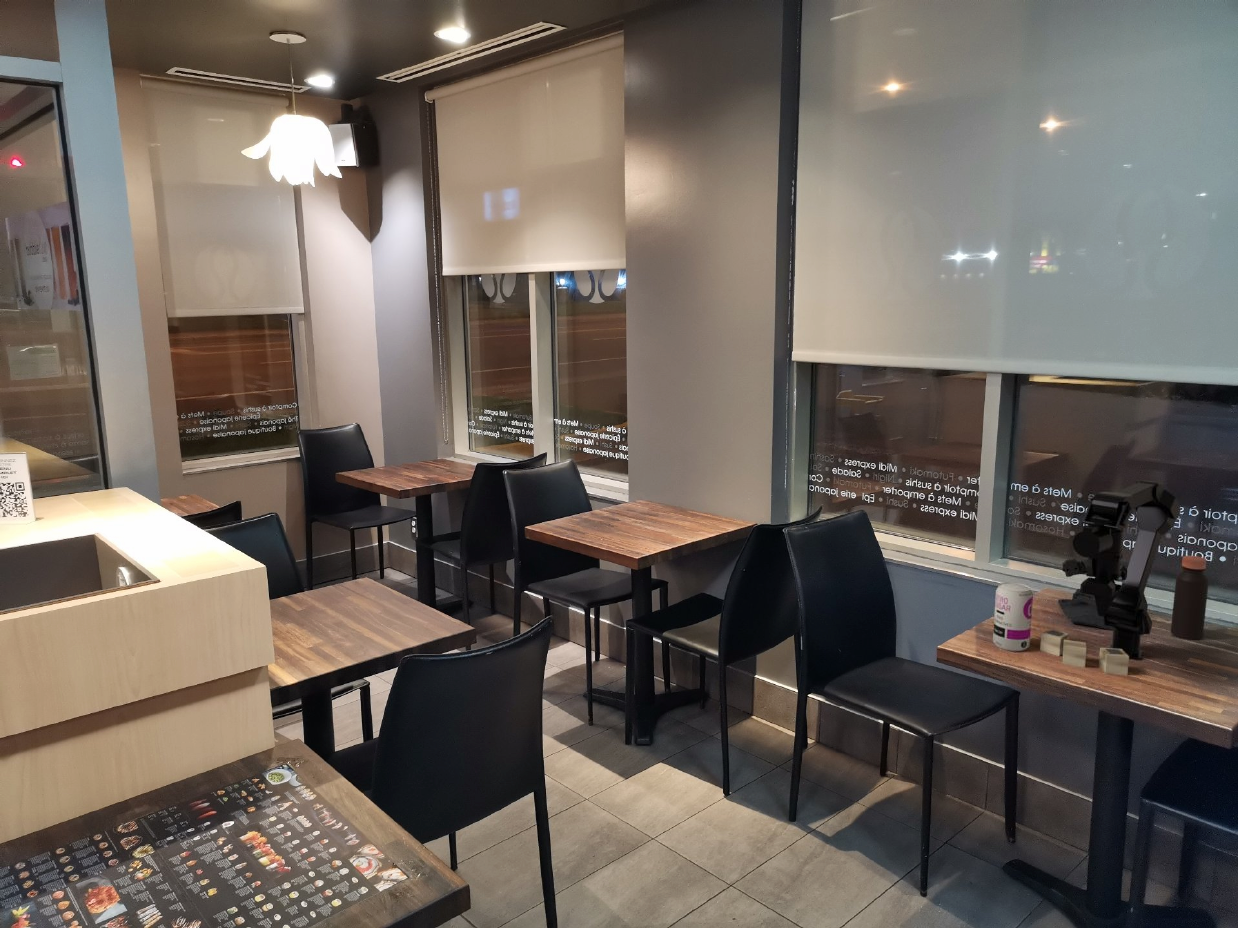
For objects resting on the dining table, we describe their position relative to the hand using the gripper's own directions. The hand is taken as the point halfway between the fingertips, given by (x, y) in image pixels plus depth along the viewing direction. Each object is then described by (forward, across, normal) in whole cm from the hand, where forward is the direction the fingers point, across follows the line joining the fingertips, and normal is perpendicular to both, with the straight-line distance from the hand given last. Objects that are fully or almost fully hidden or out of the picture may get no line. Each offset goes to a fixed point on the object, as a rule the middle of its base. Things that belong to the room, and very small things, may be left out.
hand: (1101, 615), depth 195 cm
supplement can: (+13, -2, -19) cm, 23 cm away
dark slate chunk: (+13, -38, -9) cm, 41 cm away
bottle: (+13, -36, +13) cm, 41 cm away
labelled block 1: (+13, -5, -10) cm, 17 cm away
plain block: (+12, 0, -5) cm, 13 cm away
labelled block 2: (+12, 0, +3) cm, 13 cm away
